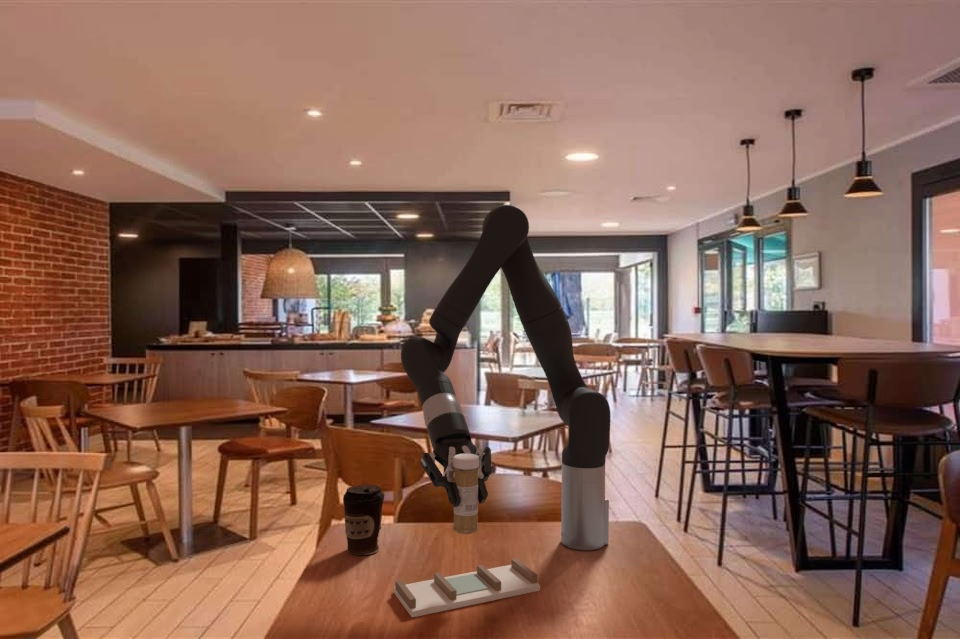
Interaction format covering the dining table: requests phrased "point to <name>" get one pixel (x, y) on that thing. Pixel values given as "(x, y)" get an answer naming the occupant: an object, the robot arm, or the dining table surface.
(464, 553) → the dining table surface
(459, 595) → the rack
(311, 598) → the dining table surface
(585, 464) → the robot arm
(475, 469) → the sprinkles bottle
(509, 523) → the dining table surface
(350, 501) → the coffee cup
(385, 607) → the dining table surface
